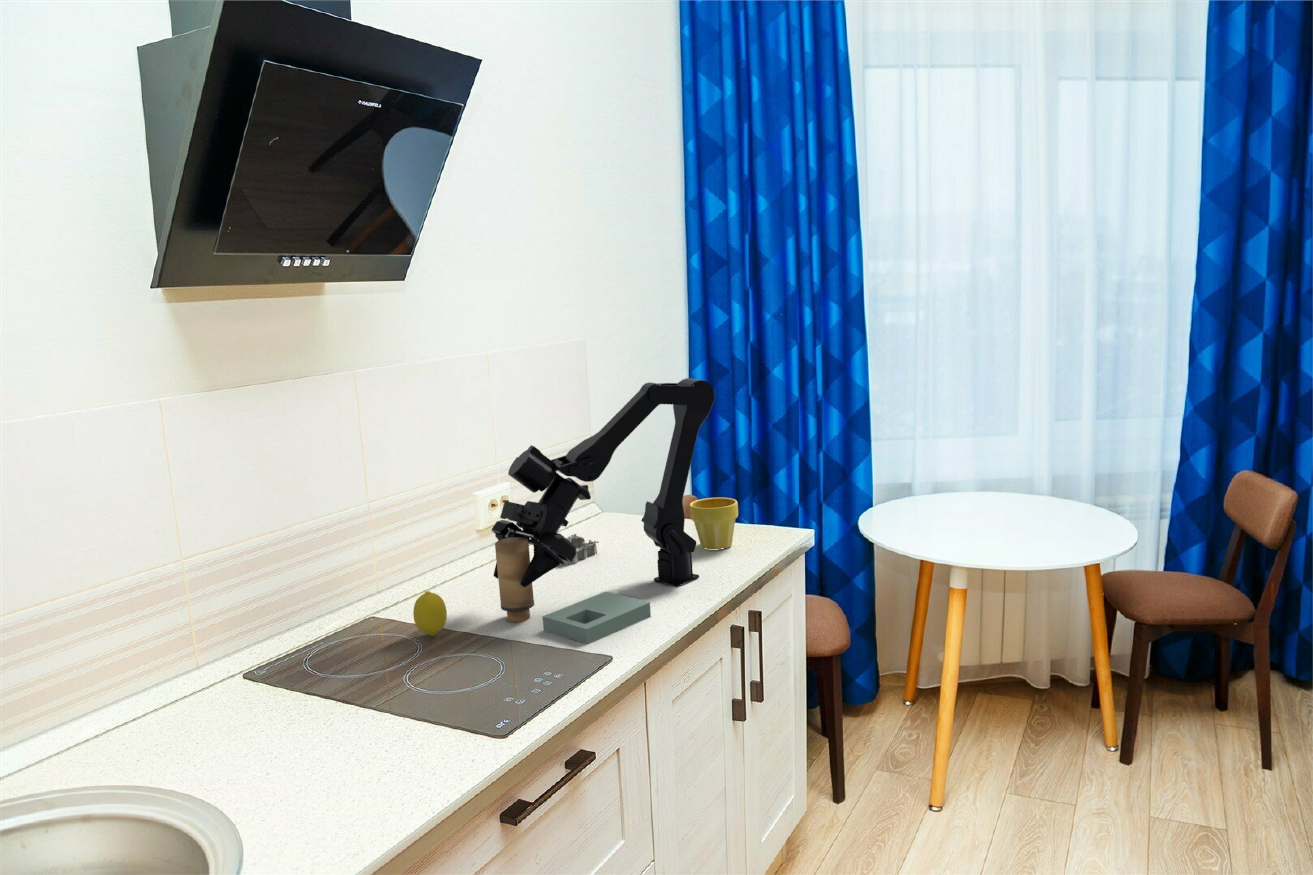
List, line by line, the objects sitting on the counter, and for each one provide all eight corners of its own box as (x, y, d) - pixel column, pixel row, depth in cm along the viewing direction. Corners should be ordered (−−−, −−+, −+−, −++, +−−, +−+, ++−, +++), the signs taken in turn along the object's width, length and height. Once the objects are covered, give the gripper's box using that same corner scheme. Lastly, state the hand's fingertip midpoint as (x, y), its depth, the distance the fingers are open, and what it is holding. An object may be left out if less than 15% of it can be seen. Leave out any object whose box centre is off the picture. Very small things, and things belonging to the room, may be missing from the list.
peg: (521, 610, 171) (514, 535, 169) (542, 616, 167) (535, 540, 165) (495, 620, 167) (487, 543, 165) (516, 626, 163) (508, 548, 161)
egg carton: (577, 550, 209) (576, 532, 209) (603, 554, 205) (602, 536, 204) (544, 562, 201) (542, 544, 200) (570, 567, 196) (569, 548, 196)
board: (606, 604, 171) (605, 591, 171) (650, 616, 164) (649, 602, 163) (543, 630, 160) (542, 616, 160) (587, 643, 153) (586, 629, 153)
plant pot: (689, 542, 209) (686, 499, 207) (735, 537, 210) (732, 495, 208) (696, 555, 198) (693, 510, 197) (744, 550, 199) (741, 505, 198)
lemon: (440, 642, 158) (435, 596, 157) (410, 642, 159) (405, 596, 158) (454, 630, 163) (449, 586, 162) (424, 629, 164) (419, 586, 163)
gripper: (495, 477, 173) (449, 549, 167) (557, 488, 159) (509, 567, 154) (534, 509, 179) (490, 580, 174) (596, 523, 166) (551, 600, 160)
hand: (508, 581), depth 165 cm, fingers open, 8 cm apart
